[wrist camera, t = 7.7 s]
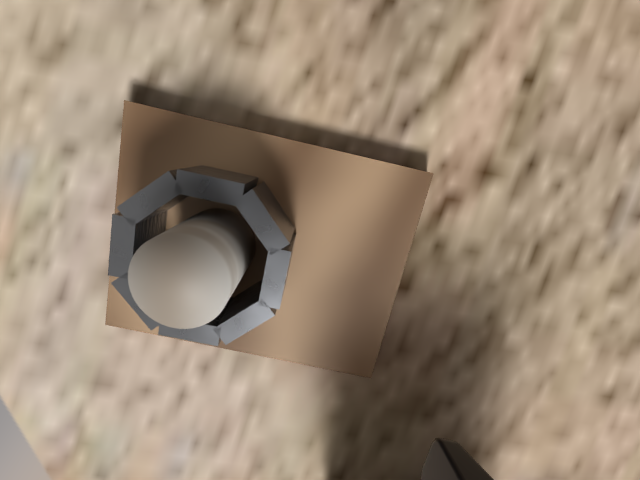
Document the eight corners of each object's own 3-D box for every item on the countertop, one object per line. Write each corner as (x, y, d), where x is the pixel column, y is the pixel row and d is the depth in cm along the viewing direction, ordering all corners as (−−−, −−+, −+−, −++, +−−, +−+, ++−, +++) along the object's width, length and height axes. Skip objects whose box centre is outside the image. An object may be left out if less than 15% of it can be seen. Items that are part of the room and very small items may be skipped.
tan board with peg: (426, 172, 17) (481, 184, 11) (368, 366, 20) (388, 457, 14) (135, 102, 16) (35, 79, 11) (116, 315, 19) (27, 389, 13)
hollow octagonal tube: (305, 187, 16) (302, 196, 14) (277, 322, 18) (269, 356, 15) (153, 154, 16) (116, 156, 13) (139, 295, 18) (104, 324, 15)
